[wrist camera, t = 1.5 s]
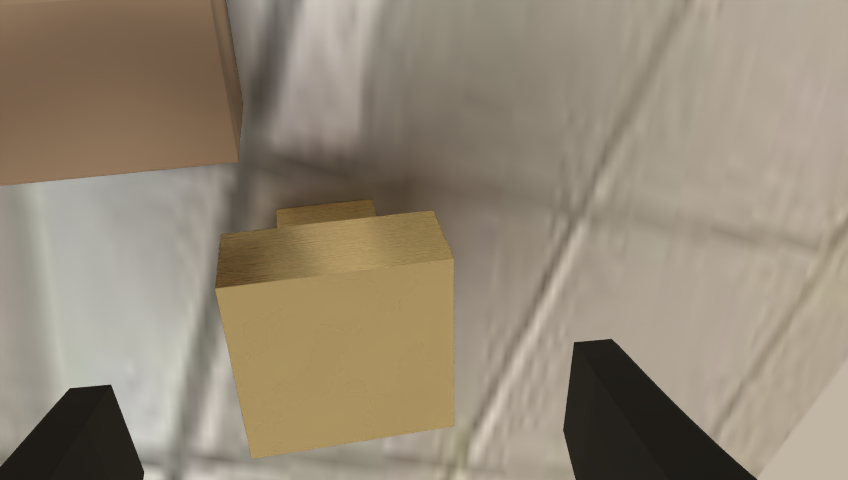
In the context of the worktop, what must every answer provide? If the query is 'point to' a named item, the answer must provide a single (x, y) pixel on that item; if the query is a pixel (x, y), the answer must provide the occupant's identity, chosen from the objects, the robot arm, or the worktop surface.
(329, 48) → the worktop surface
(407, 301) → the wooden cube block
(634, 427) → the robot arm
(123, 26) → the brown wooden block
